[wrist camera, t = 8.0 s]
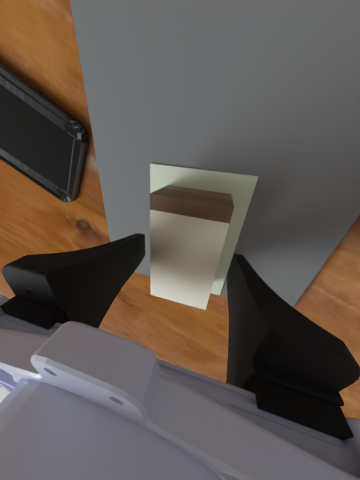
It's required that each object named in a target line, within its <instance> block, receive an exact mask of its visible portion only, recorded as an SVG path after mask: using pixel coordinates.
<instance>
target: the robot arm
mask: <svg viewBox="0 0 360 480" xmlns="http://www.w3.org/2000/svg"><path fill="white" fill-rule="evenodd" d="M144 256H145V234H140V233H136V234H133V235H130V236H127V237H124V238H121V239H119V240H116V241H113V242H110V243H107V244H103V245H100V246H96V247H92V248H88V249H82V250H77V251H71V252H63V253H53V254H37V255H26V256H23V257H21V258H19V259H17V260H15V261H13V262H11V263H9V264H7V265H5V266H4V267H3V270H2V273H3V276H4V278H5V280H6V281H7V283H8V284H9V286H10V287H11V289H12V290H13V292H14V293H15V295H16V296H15V297H13V298H12V299H9V298H7V297H6V296H3V295H0V387H2V388H4V389H6V390H8V391H9V392H10V393H9V394H8V395H7V396H6V397H5V399H4V400H3V401H2V402H1V403H0V480H360V420H359V419H355V418H345V416H344V414H343V412H342V410H341V408H340V406H343V405H344V402H343V400H342V398H341V396H340V394H339V391H341V390H342V389H344V388H346V387H347V386H349V385H351V384H353V383H354V382H355V381H356V380H358V378H359V376H360V367H359V365H358V363H357V362H356V360H355V359H354V357H353V356H352V354H351V353H350V351H349V350H348V348H347V347H346V345H345V344H344V342H343V341H342V340H340V339H338V338H337V337H335V336H334V335H332V334H331V333H329V332H327V331H326V330H324V329H323V328H321V327H320V326H318V325H316V324H315V323H314V322H312V321H311V320H309V319H308V318H307V317H305V316H304V315H302V314H301V313H300V312H298V311H297V310H296V309H294V308H293V307H292V306H291V305H289V304H288V303H287V302H286V301H284V300H283V299H282V298H281V297H280V296H279V295H278V294H276V293H275V292H274V291H273V290H272V289H271V288H270V287H269V286H268V285H267V284H266V283H265V282H264V281H263V279H262V278H261V277H260V276H259V275H258V274H257V273H256V271H255V270H254V269H253V268H252V266H251V265H250V264H249V262H248V261H247V260H246V258H245V257H244V256H243V255H241V254H236V253H234V255H233V258H232V261H231V264H230V267H229V270H228V273H227V296H228V308H229V345H228V365H227V380H226V383H224V382H222V381H219V380H216V379H213V378H210V377H208V376H205V375H202V374H199V373H197V372H194V371H191V370H188V369H185V368H183V367H180V366H177V365H174V364H171V363H169V362H166V361H163V360H160V359H158V358H156V356H155V354H153V353H152V352H151V351H150V350H149V349H148V348H147V347H145V346H143V345H141V344H139V343H137V342H135V341H132V340H129V339H126V338H123V337H120V336H118V335H115V334H112V333H109V332H106V331H103V330H100V329H98V327H99V325H100V323H101V322H102V320H103V318H104V316H105V314H106V313H107V311H108V309H109V307H110V306H111V304H112V302H113V301H114V299H115V297H116V296H117V294H118V293H119V291H120V289H121V288H122V287H123V285H124V284H125V283H126V281H127V280H128V279H129V277H130V276H131V275H132V274H133V272H134V271H135V270H136V269H137V267H138V266H139V265H140V263H141V262H142V260H143V258H144Z"/></svg>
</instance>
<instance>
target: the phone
mask: <svg viewBox="0 0 360 480" xmlns="http://www.w3.org/2000/svg"><path fill="white" fill-rule="evenodd" d="M88 144H89V138H88V134H87V131H86V129H85V127H84V126H83V124H82V123H80V122H79V121H78V120H77V119H75V118H74V117H73V116H71V115H70V114H69V113H68V112H66V111H65V110H64V109H62V108H61V107H59V106H58V105H57V104H56V103H55V102H53V101H52V100H51V99H49V98H48V97H47V96H44V95H43V94H42V92H40V91H39V90H37V89H36V88H35V87H33V86H31V85H29V84H28V83H27V82H25V81H24V80H23V79H21V78H20V77H19V76H17V75H16V74H15V73H13V72H12V71H11V70H9V69H8V68H7V67H5V66H4V65H2V64H1V63H0V159H1V160H3V161H4V162H6V163H7V164H8V165H10V166H11V167H13V168H14V169H16V170H17V171H19V172H20V173H22V174H23V175H24V176H26V177H27V178H29V179H30V180H32V181H33V182H35V183H36V184H38V185H39V186H41V187H42V188H43V189H45V190H46V191H48V192H49V193H51V194H52V195H54V196H55V197H57V198H58V199H60V200H61V201H63V202H70V201H73V200H76V199H77V197H78V192H79V187H80V183H81V178H82V173H83V168H84V164H85V159H86V154H87V149H88Z"/></svg>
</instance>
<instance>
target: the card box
mask: <svg viewBox="0 0 360 480" xmlns="http://www.w3.org/2000/svg"><path fill="white" fill-rule="evenodd" d="M233 210H234V204H233V199H232V195H231V194H227V193H220V192H213V191H206V190H199V189H192V188H185V187H178V186H171V185H167V186H165V187H163V188H161V189H158V190H156V191H154V192H152V193H150V279H151V295H154V296H157V297H161V298H164V299H168V300H171V301H175V302H178V303H182V304H186V305H189V306H193V307H196V308H200V309H203V310H206V306H207V303H208V299H209V296H210V292H211V289H212V285H213V281H214V278H215V274H216V271H217V267H218V263H219V260H220V256H221V253H222V249H223V245H224V242H225V238H226V235H227V231H228V228H229V224H230V220H231V217H232V213H233Z"/></svg>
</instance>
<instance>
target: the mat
mask: <svg viewBox="0 0 360 480" xmlns="http://www.w3.org/2000/svg"><path fill="white" fill-rule="evenodd" d="M70 2H71V8H72V14H73V20H74V26H75V32H76V38H77V44H78V50H79V56H80V62H81V68H82V74H83V81H84V87H85V93H86V99H87V105H88V111H89V117H90V123H91V129H92V135H93V141H94V147H95V153H96V159H97V165H98V171H99V177H100V183H101V189H102V195H103V201H104V207H105V213H106V219H107V225H108V231H109V237H110V242H113V241H116V240H119V239H121V238H124V237H127V236H130V235H133V234H136V233H140V234H145V256H144V258H143V260H142V262H141V263H140V265H139V266H138V267H137V269H136V270H135V271H134V272H136V273H140V274H144V275H148V276H150V164H159V165H167V166H176V167H184V168H193V169H201V170H209V171H218V172H226V173H235V174H243V175H252V176H258V180H257V183H256V186H255V189H254V192H253V195H252V198H251V201H250V204H249V207H248V210H247V213H246V217H245V220H244V223H243V226H242V229H241V232H240V235H239V238H238V241H237V244H236V247H235V250H234V253H236V254H241V255H243V256H244V257H245V258H246V260H247V261H248V262H249V264H250V265H251V266H252V268H253V269H254V270H255V271H256V273H257V274H258V275H259V276H260V277H261V278H262V279H263V281H264V282H265V283H266V284H267V285H268V286H269V287H270V288H271V289H272V290H273V291H274V292H275V293H276V294H278V295H279V296H280V297H281V298H282V299H283V300H284V301H286V302H287V303H288V304H289V305H291V306H292V307H293V306H294V305H295V304H296V302H297V301H298V300H299V298H300V297H301V295H302V294H303V293H304V291H305V290H306V289H307V287H308V286H309V284H310V283H311V282H312V280H313V279H314V277H315V276H316V275H317V273H318V272H319V271H320V269H321V268H322V266H323V265H324V264H325V262H326V261H327V260H328V258H329V257H330V255H331V254H332V253H333V251H334V250H335V248H336V247H337V246H338V244H339V243H340V242H341V240H342V239H343V237H344V236H345V235H346V233H347V232H348V231H349V229H350V228H351V226H352V225H353V224H354V222H355V221H356V220H357V218H358V217H359V215H360V0H70ZM234 253H233V255H234ZM232 258H233V256H232ZM231 261H232V259H231ZM230 264H231V263H230ZM229 267H230V266H229ZM228 270H229V269H228ZM227 273H228V272H227ZM220 294H222V295H226V296H227V275H226V278H225V281H224V284H223V287H222V290H221V293H220Z"/></svg>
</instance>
